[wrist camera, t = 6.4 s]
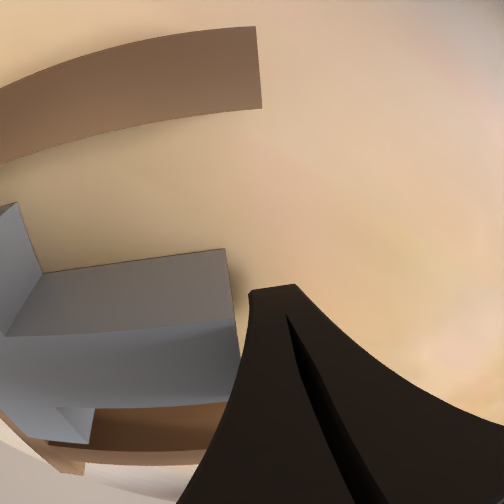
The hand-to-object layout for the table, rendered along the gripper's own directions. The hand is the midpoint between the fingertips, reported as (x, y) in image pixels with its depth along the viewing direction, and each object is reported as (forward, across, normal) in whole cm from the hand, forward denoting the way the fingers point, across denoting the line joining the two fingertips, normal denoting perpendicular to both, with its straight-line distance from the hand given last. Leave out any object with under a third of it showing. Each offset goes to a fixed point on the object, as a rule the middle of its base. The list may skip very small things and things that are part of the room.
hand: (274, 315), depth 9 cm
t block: (+1, +6, 0) cm, 6 cm away
